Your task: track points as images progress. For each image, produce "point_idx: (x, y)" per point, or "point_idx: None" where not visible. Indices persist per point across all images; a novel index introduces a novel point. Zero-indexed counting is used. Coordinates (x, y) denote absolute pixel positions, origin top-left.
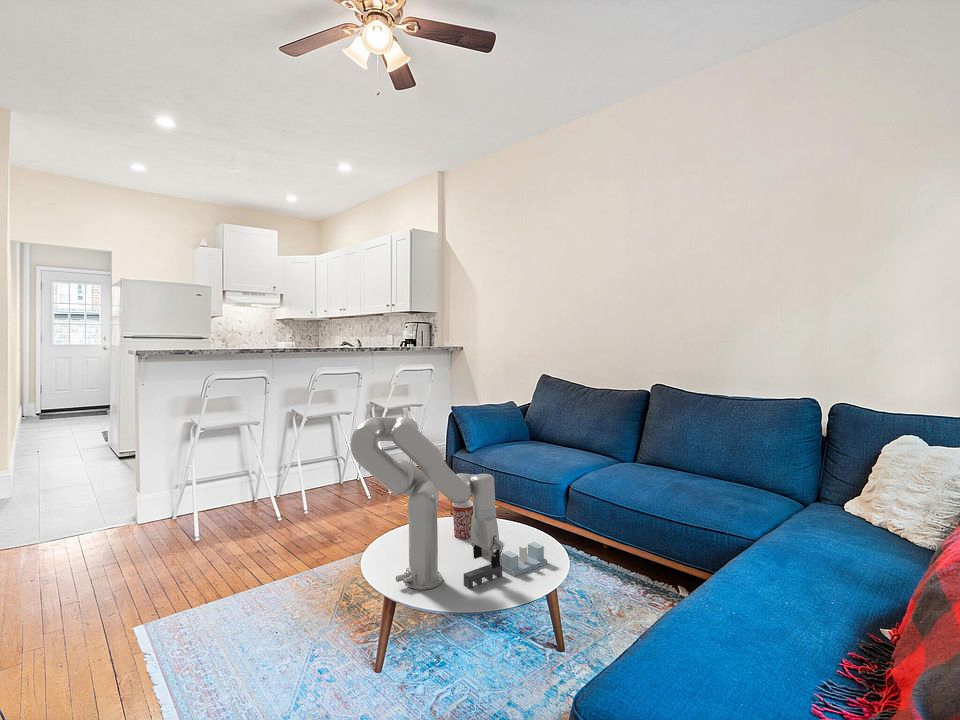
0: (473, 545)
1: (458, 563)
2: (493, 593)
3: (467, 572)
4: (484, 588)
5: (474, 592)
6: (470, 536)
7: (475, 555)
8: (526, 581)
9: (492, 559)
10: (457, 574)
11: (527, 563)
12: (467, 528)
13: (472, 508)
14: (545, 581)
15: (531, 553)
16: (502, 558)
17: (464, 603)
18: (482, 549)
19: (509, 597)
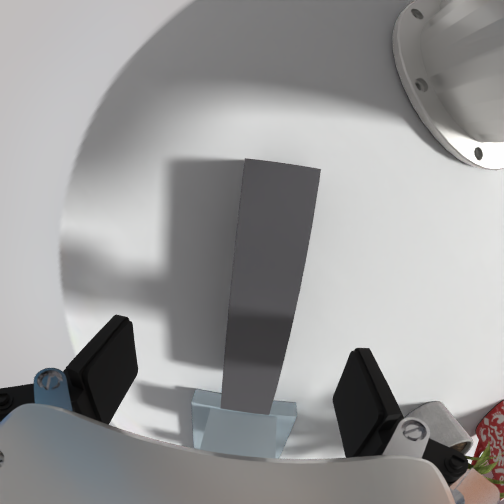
0: (406, 428)
1: (462, 314)
2: (132, 227)
3: (310, 203)
4: (196, 229)
5: (201, 157)
6: (472, 470)
7: (358, 369)
8: (140, 384)
9: (79, 355)
10: (417, 237)
11: None
12: (501, 454)
13: (500, 490)
14: None
15: None
16: (271, 442)
17: (160, 55)
18: None
19: (76, 253)
